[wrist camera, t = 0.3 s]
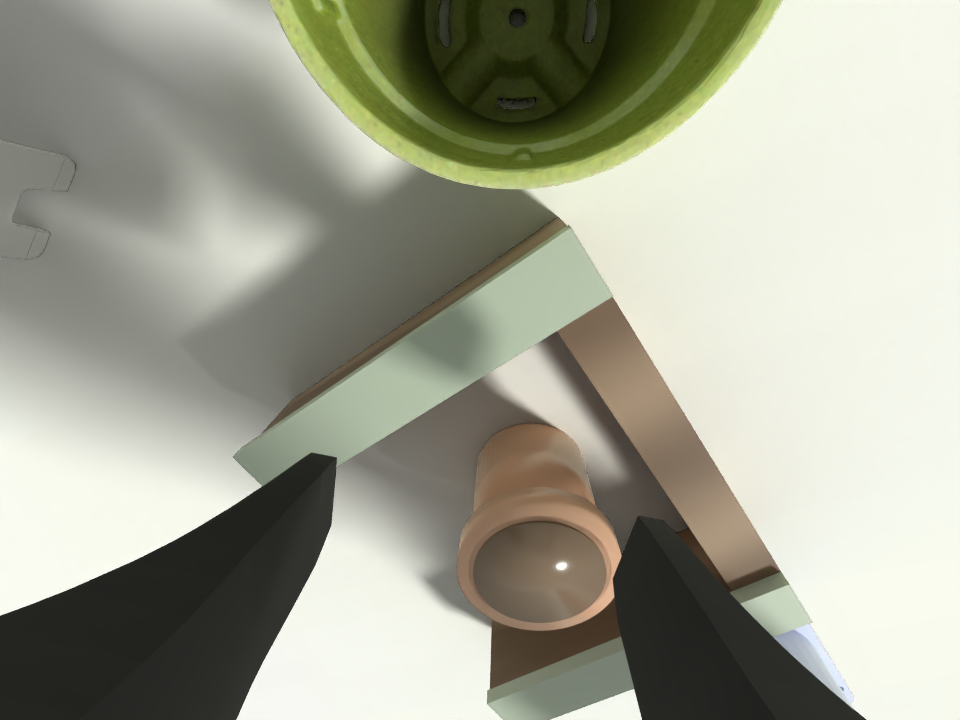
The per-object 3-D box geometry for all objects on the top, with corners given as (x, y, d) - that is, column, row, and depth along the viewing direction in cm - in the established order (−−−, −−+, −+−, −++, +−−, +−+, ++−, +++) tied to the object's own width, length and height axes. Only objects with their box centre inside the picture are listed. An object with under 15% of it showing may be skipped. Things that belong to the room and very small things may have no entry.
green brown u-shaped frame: (755, 537, 23) (812, 622, 18) (514, 640, 26) (515, 731, 22) (555, 211, 17) (571, 227, 13) (287, 398, 21) (232, 457, 17)
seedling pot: (616, 484, 22) (654, 595, 16) (513, 536, 24) (515, 654, 18) (550, 392, 20) (568, 481, 15) (444, 454, 22) (422, 556, 16)
